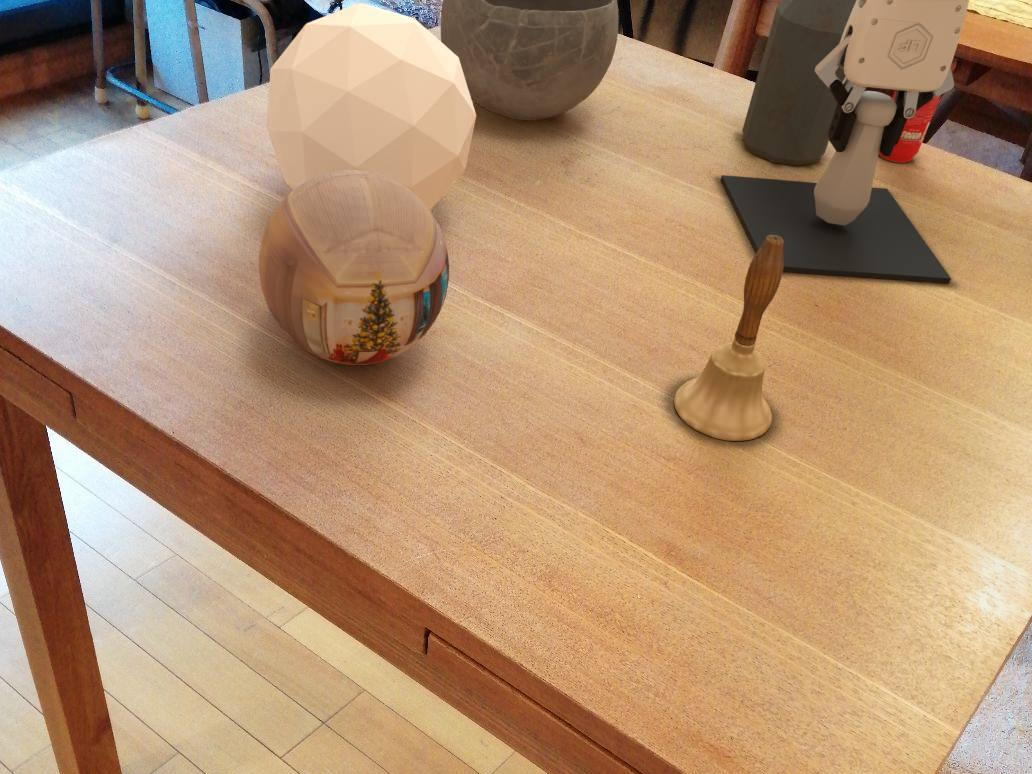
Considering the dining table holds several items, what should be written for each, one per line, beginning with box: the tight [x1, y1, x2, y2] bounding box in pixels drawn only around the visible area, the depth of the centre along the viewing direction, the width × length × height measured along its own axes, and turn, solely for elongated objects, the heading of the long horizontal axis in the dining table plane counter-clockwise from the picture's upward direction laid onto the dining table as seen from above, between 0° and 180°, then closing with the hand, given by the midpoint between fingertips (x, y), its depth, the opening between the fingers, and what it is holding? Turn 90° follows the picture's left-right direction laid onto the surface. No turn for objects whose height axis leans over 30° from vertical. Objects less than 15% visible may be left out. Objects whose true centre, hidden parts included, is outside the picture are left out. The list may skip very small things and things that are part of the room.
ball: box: [266, 2, 477, 211], centre depth 103 cm, size 19×20×20 cm
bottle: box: [741, 0, 856, 167], centre depth 123 cm, size 10×10×30 cm
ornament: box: [258, 170, 450, 366], centre depth 87 cm, size 15×15×15 cm
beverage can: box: [878, 65, 952, 164], centre depth 131 cm, size 5×5×12 cm
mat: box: [720, 174, 952, 284], centre depth 118 cm, size 20×20×1 cm
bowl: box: [440, 0, 619, 121], centre depth 127 cm, size 20×20×15 cm
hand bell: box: [673, 235, 784, 442], centre depth 86 cm, size 8×8×16 cm
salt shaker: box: [814, 90, 897, 225], centre depth 113 cm, size 6×6×13 cm
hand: (859, 146), depth 112 cm, fingers closed on salt shaker, 4 cm apart
